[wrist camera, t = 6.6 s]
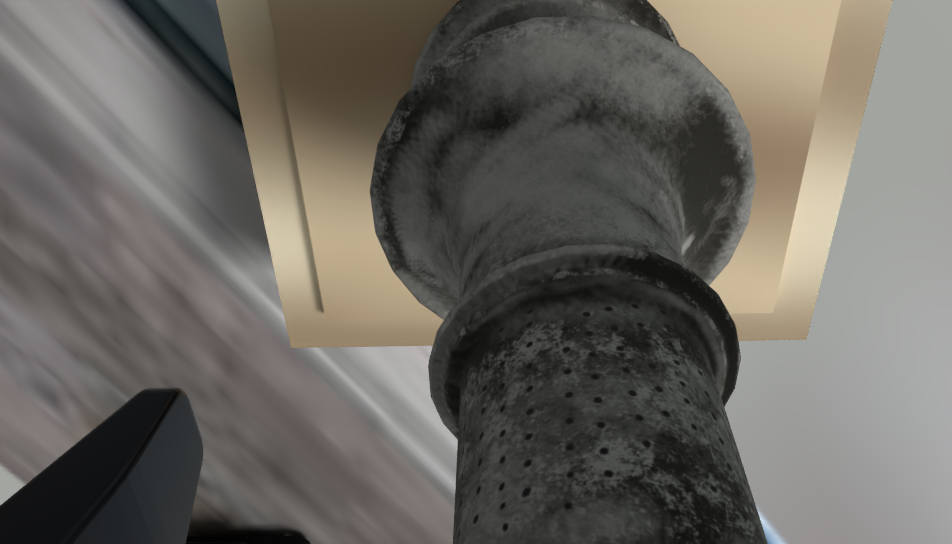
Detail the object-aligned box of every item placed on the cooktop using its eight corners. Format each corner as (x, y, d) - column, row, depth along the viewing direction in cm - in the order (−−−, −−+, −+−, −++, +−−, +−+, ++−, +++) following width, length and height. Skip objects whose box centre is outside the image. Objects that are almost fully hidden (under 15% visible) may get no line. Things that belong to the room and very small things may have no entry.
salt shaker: (335, 143, 16) (88, 856, 6) (516, -127, 13) (579, 404, 3) (571, 285, 18) (665, 1003, 8) (773, 75, 15) (1291, 793, 5)
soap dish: (770, 265, 21) (809, 346, 19) (313, 274, 22) (289, 354, 19) (886, -293, 15) (973, -288, 12) (215, -264, 15) (154, -254, 12)
